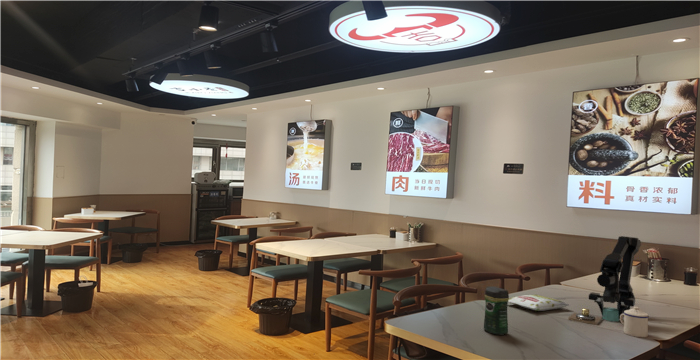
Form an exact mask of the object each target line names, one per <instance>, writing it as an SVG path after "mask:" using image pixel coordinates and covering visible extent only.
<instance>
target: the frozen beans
mask: <svg viewBox="0 0 700 360" xmlns="http://www.w3.org/2000/svg"><path fill="white" fill-rule="evenodd" d="M508 303H509V304H512V305H514V306H518V307H521V308H526V309H528V310H529V309H530V310H532V311H536V312H537V311H538V312H541V311H550V310H557V309H563V308H567V306H570V304H569V303H567V302H565V301H562V300H559V299H555V298H552V297H551V298H550V297H547V296H542V295H538V294H528V295H527V294H526V295H519V296H513V297H509V300H508Z"/></svg>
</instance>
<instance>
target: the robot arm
mask: <svg viewBox="0 0 700 360" xmlns="http://www.w3.org/2000/svg"><path fill="white" fill-rule="evenodd" d="M641 245H642V241H641V240H640V239H639V238H638V237H633V236H624V235H623V236H622V235H620V236H618V239H617V242H616V244H615V246H614V248H613V250H612V252H611V253H608V254H607V255H605V258H603V260H602V262H601V266H600V268H599V269H600V270H599V272H600V273H601V274H599V275H598V277H597V279H596V281H597V284H598V285H599V286H600V287H603V288H604V289H603V290H604V291H603V294H601V293H598V292H593V291H592V292H590V293H589V294H588V300H589V301H593V302H594V303H596V304H597V305H598V307H599V310H600V313H601V316H602V317H603V308H604V303H610V304H615V303H616V309H619V320H620V315H621V314H624V311H625V310H630V309H631V307H633V308H634V307H635V306H636V297H635V295H634V292H633V290H634V289H633V287H632V285H631V279H632V278H631V277H632V272H633V264H634V257H635V255H636V254H637V253H638V252H639V250H640V247H641ZM600 294H601V295H600Z"/></svg>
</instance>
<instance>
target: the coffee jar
mask: <svg viewBox="0 0 700 360" xmlns="http://www.w3.org/2000/svg"><path fill="white" fill-rule="evenodd" d="M484 291H485V292H484V300H485V307H484V309H485V310H484V320H483V330H484V331H485V330H486V332H488V333H490V334H493V335H500V336H503V335H504V334H505V335H506V334H508V333H509V322H508V303H509V302H508V300H509V298H510V296H509V295H510V294H509V291H508V290H507V289H504V288H500V287H498V286H492V285H491V286H486V288H485V290H484Z"/></svg>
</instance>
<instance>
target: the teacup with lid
mask: <svg viewBox="0 0 700 360" xmlns="http://www.w3.org/2000/svg"><path fill="white" fill-rule="evenodd" d="M649 317H650V316H649V314H648V313H647V312H644V311H643V310H642V309H640V308H639V307H638V306H634V307H633V308H630V310H625V311H624V314H621V315H620V319H619V322H621V324H622V325H623V333H625V334H626V335H628V336H631V337H634V336H635V337H636V338H647V337H648V335H649V334H648V333H649V332H648V331H649ZM635 337H634V338H635Z"/></svg>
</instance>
